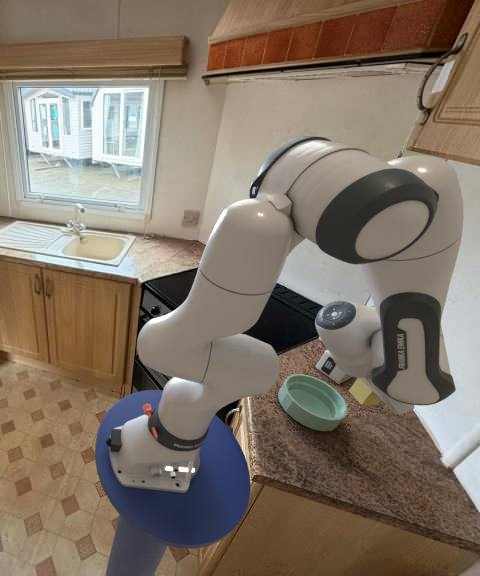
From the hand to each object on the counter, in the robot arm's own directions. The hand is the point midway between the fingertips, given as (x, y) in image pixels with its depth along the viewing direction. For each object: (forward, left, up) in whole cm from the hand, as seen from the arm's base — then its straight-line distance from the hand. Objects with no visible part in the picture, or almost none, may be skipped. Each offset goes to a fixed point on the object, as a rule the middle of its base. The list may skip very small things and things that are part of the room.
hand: (374, 385), depth 74 cm
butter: (-1, 0, -4) cm, 4 cm away
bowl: (-5, +7, -17) cm, 19 cm away
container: (+14, +19, -17) cm, 29 cm away
